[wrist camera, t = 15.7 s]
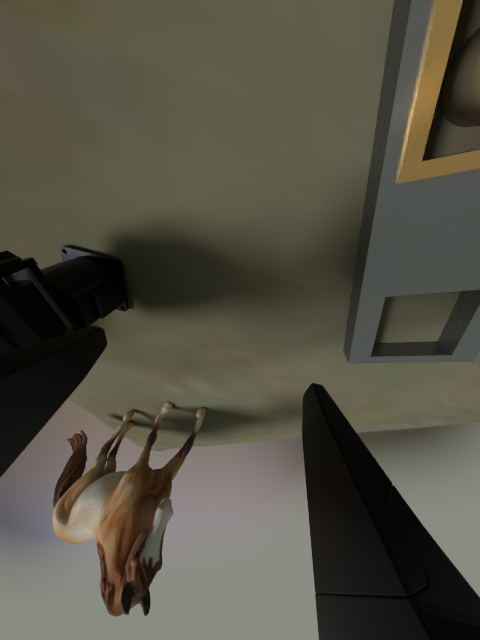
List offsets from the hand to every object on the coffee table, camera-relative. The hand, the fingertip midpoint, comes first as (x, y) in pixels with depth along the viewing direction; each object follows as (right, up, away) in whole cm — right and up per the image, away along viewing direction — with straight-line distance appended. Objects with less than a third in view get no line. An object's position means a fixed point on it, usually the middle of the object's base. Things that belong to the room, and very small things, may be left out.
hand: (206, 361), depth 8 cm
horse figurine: (-17, -14, +29) cm, 36 cm away
